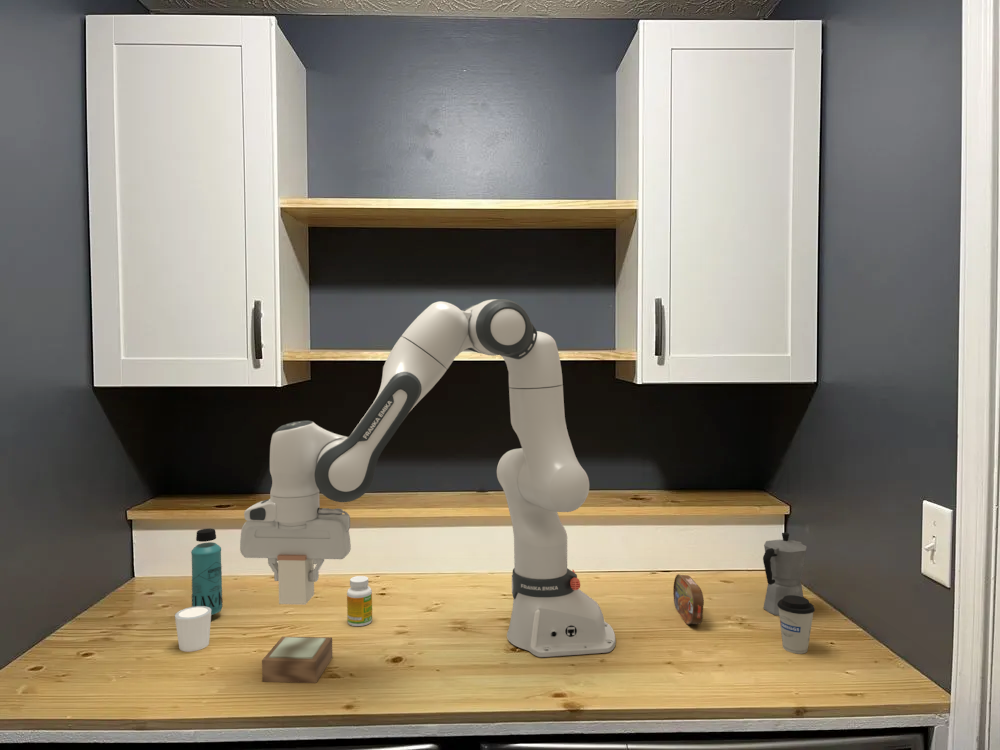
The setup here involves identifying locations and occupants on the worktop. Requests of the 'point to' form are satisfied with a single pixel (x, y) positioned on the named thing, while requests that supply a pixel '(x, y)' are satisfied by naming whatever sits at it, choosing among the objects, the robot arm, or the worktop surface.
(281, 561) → the two-tone lidded box
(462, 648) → the worktop surface
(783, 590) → the coffeepot
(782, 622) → the coffee cup
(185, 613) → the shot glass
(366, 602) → the supplement bottle
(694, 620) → the tin
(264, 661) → the base
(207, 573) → the beverage bottle
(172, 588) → the worktop surface
